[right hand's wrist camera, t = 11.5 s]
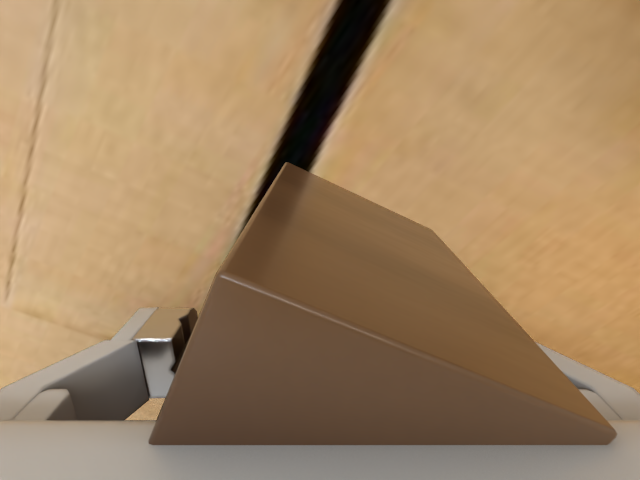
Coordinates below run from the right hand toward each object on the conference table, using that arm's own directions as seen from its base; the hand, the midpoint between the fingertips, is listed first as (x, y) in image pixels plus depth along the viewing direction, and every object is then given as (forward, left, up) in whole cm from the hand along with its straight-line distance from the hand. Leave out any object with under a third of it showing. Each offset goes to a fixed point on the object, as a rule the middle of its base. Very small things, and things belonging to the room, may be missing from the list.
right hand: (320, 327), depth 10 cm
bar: (+5, +9, -3) cm, 11 cm away
